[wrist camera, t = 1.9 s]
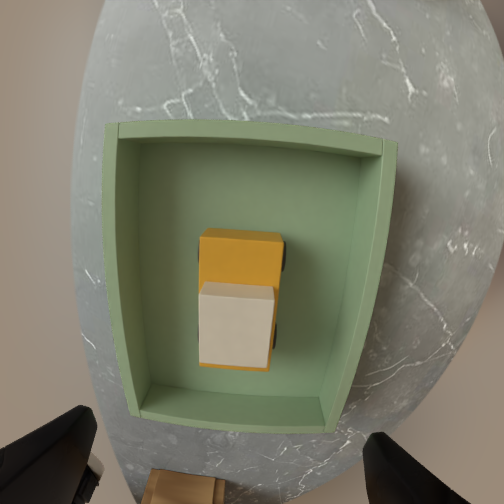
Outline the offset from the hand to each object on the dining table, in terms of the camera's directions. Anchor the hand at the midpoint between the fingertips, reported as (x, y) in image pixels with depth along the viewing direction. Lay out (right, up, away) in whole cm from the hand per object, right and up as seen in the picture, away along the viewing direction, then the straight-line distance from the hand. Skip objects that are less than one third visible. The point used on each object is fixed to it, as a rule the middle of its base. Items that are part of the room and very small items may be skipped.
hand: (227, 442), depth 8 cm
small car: (0, +4, +9) cm, 10 cm away
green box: (0, +4, +10) cm, 11 cm away
